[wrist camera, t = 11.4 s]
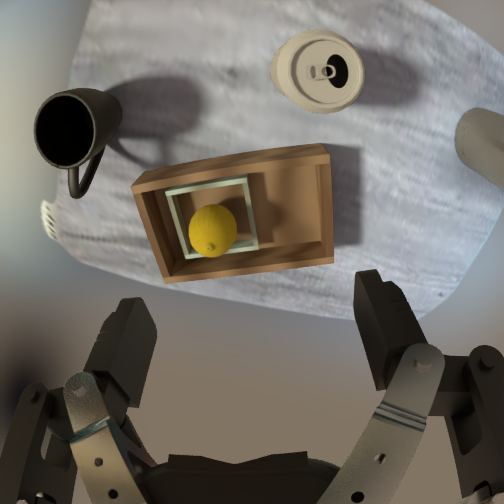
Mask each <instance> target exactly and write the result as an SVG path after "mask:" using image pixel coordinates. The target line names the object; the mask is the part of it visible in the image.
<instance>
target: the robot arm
mask: <svg viewBox="0 0 504 504" xmlns="http://www.w3.org/2000/svg"><path fill="white" fill-rule="evenodd" d="M455 146H456V151H457V154H458V156H459V158H460V159H461V161H462V162H463V163H464V164H465V165H466V166H468V167H469V168H471V169H472V170H474V171H475V172H477V173H478V174H480V175H481V176H483V177H484V178H485V179H487V180H488V181H490V182H491V183H493V184H494V185H495V186H497V187H498V188H500V189H501V190H502V191H504V116H502V115H499V114H497V113H494V112H491V111H488V110H486V109H483V108H473V109H471V110H469V111H467V112H466V113H465V114H464V115H463V116H462V118H461V119H460V121H459V123H458V125H457V129H456V134H455ZM353 308H354V316H355V320H356V323H357V325H358V329H359V332H360V336H361V339H362V342H363V345H364V349H365V352H366V355H367V359H368V362H369V366H370V369H371V372H372V376H373V379H374V383H375V387H376V390H377V391H379V390H384V389H386V393H385V395H384V397H383V399H382V401H381V403H380V405H379V406H378V407H377V408H376V410H375V411H374V413H373V415H372V417H371V419H370V420H369V422H368V424H367V426H366V428H365V429H364V431H363V433H362V435H361V437H360V438H359V440H358V441H357V443H356V445H355V447H354V448H353V450H352V451H351V453H350V455H349V456H348V458H347V459H346V461H345V463H344V464H343V466H342V467H341V468H340V467H338V466H336V465H334V464H332V463H329V462H325V461H322V460H318V459H311V458H307V457H308V456H307V451H303V452H295V453H284V454H271V455H268V456H265V457H261V458H258V459H254V460H250V461H246V462H243V463H239V464H231V463H226V462H222V461H218V460H214V459H210V458H206V457H203V456H190V455H173V454H169V458H168V462H166V463H162V464H159V465H158V464H157V463H156V462H155V460H154V459H153V458H152V457H151V456H150V455H149V453H148V452H147V450H146V448H145V447H144V445H143V443H142V441H141V439H140V437H139V436H138V434H137V432H136V430H135V428H134V426H133V424H132V422H131V420H130V418H129V416H128V415H127V414H126V412H127V408H128V407H135V408H139V405H140V400H141V396H142V392H143V388H144V384H145V381H146V377H147V372H148V369H149V365H150V362H151V358H152V354H153V351H154V347H155V344H156V339H157V329H156V325H155V323H154V321H153V319H152V317H151V315H150V313H149V311H148V309H147V307H146V305H145V303H144V301H143V299H142V298H140V297H135V298H124V299H122V300H121V301H120V303H119V305H118V307H117V310H116V312H112V313H111V315H110V316H109V317H108V318H107V319H106V320H105V321H104V323H103V325H102V328H101V330H100V334H99V335H98V337H97V339H96V342H95V343H94V346H93V348H92V351H91V353H90V355H89V358H88V361H87V362H86V365H85V367H84V370H83V372H78V373H76V374H74V375H72V376H71V377H70V378H69V379H68V380H67V381H66V383H65V385H64V387H61V388H57V389H53V390H48V388H47V387H46V386H45V385H43V384H42V383H40V382H35V383H32V384H30V385H29V386H28V387H27V388H26V389H25V390H24V391H23V393H22V395H21V398H20V401H19V403H18V406H17V409H16V411H15V414H14V417H13V419H12V422H11V425H10V428H9V431H8V434H7V437H6V440H5V444H4V447H3V450H2V454H1V457H0V504H72V497H73V491H74V485H75V479H76V474H77V469H78V470H79V472H80V475H81V478H82V480H83V483H84V485H85V487H86V490H87V492H88V495H89V497H90V499H91V502H92V504H389V502H390V500H391V498H392V497H393V495H394V493H395V491H396V489H397V488H398V486H399V484H400V482H401V480H402V478H403V476H404V475H405V473H406V470H407V469H408V466H409V464H410V462H411V460H412V458H413V456H414V454H415V451H416V449H417V447H418V445H419V443H420V440H421V438H422V436H423V433H424V430H425V428H426V419H427V416H444V418H445V421H446V425H447V429H448V433H449V437H450V441H451V445H452V450H453V454H454V459H455V463H456V468H457V473H458V478H459V483H460V489H461V494H462V499H461V500H460V501H459V502H458V503H457V504H504V357H503V355H502V354H501V353H500V352H499V351H498V350H497V349H496V348H494V347H491V346H488V345H482V346H478V347H476V348H474V349H473V350H472V352H471V353H470V355H469V356H448V355H443V354H442V352H441V351H440V350H439V349H438V348H437V347H435V346H433V345H431V344H428V342H427V340H426V338H425V336H424V334H423V332H422V329H421V327H420V325H419V323H418V321H417V319H416V317H415V315H414V313H413V311H412V310H411V307H410V305H409V303H408V302H407V299H406V297H405V295H404V293H403V292H402V290H401V289H400V288H399V287H398V286H397V285H396V284H394V283H393V282H392V281H387V282H383V281H382V279H381V277H380V275H379V273H378V271H377V270H376V269H372V270H366V271H359V272H356V274H355V286H354V301H353ZM46 429H47V430H48V431H50V432H51V433H52V434H51V438H50V442H49V445H48V449H47V453H46V457H45V460H44V459H43V458H42V456H41V452H40V451H41V446H42V442H43V438H44V435H45V431H46Z"/></svg>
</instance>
